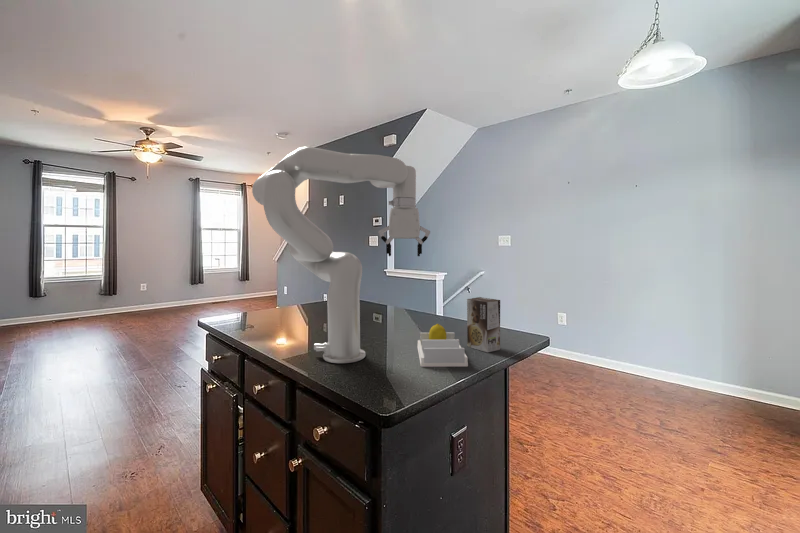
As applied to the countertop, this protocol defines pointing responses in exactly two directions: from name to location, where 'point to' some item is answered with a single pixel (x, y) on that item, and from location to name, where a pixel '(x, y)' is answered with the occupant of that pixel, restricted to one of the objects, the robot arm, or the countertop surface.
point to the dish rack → (441, 351)
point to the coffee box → (483, 324)
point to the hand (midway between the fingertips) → (404, 256)
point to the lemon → (437, 333)
